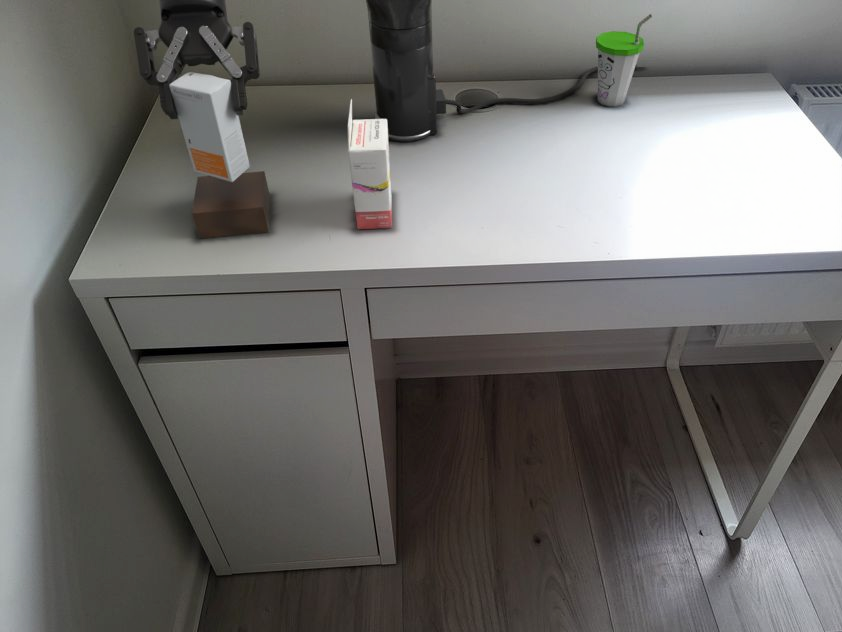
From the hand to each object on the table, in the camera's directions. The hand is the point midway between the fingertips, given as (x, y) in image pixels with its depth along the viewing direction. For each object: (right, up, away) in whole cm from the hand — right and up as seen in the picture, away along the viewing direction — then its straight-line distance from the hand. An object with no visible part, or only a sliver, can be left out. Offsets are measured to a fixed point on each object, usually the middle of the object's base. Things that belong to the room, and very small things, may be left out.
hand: (206, 115), depth 85 cm
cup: (+56, +15, +37) cm, 69 cm away
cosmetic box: (0, -5, +7) cm, 9 cm away
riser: (0, -10, +12) cm, 16 cm away
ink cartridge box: (+19, -9, +13) cm, 25 cm away
